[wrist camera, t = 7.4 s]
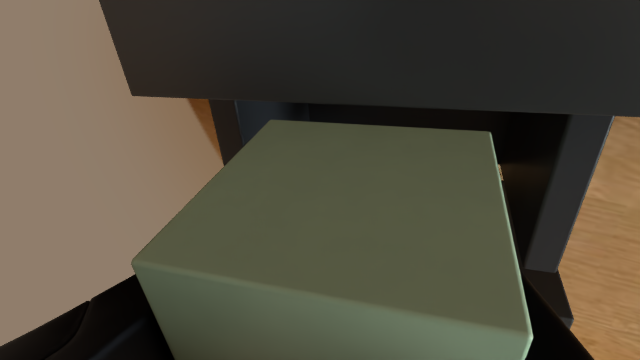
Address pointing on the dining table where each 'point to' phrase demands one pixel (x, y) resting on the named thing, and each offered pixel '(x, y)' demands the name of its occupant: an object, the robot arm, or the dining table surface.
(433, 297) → the block
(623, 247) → the dining table surface
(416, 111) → the drawer
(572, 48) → the cabinet
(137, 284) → the robot arm
